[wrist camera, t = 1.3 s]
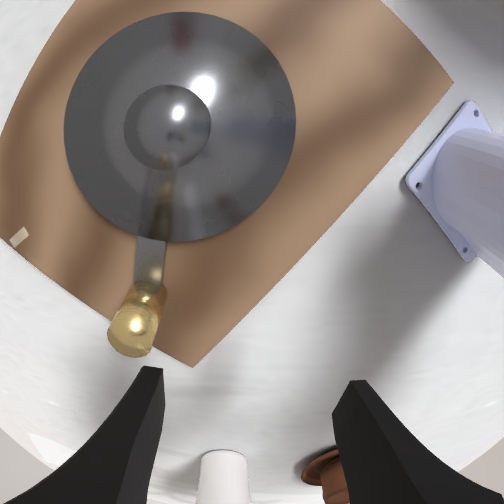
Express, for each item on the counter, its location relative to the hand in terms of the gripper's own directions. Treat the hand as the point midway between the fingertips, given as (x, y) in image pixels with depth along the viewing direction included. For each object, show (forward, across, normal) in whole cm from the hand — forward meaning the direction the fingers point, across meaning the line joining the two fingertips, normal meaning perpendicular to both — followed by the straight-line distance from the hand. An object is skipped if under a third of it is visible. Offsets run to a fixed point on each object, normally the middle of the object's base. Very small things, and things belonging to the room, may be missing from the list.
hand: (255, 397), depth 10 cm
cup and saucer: (+11, -17, +27) cm, 33 cm away
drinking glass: (+11, -1, +26) cm, 28 cm away
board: (+10, +5, -8) cm, 14 cm away
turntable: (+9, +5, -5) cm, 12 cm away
